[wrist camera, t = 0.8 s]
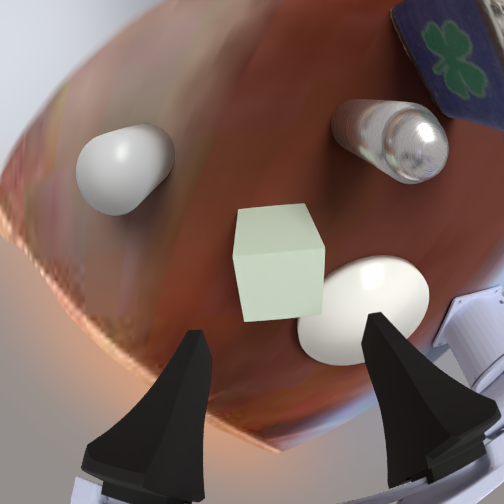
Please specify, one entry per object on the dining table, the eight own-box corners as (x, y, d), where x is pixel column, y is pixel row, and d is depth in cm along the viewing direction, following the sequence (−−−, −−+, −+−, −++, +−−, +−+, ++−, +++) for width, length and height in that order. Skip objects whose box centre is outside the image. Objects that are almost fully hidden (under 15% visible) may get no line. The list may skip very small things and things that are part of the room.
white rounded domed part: (168, 116, 15) (138, 123, 11) (180, 180, 17) (156, 209, 13) (110, 132, 15) (68, 147, 11) (123, 191, 17) (89, 221, 13)
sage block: (304, 203, 18) (325, 247, 13) (305, 259, 20) (321, 314, 15) (238, 209, 18) (232, 256, 13) (246, 264, 21) (244, 321, 15)
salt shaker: (380, 100, 14) (467, 112, 7) (381, 152, 16) (460, 197, 9) (328, 98, 14) (395, 99, 7) (331, 152, 16) (392, 198, 9)
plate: (437, 248, 20) (444, 255, 19) (405, 344, 26) (408, 352, 25) (296, 263, 20) (298, 272, 19) (296, 363, 27) (297, 372, 26)
